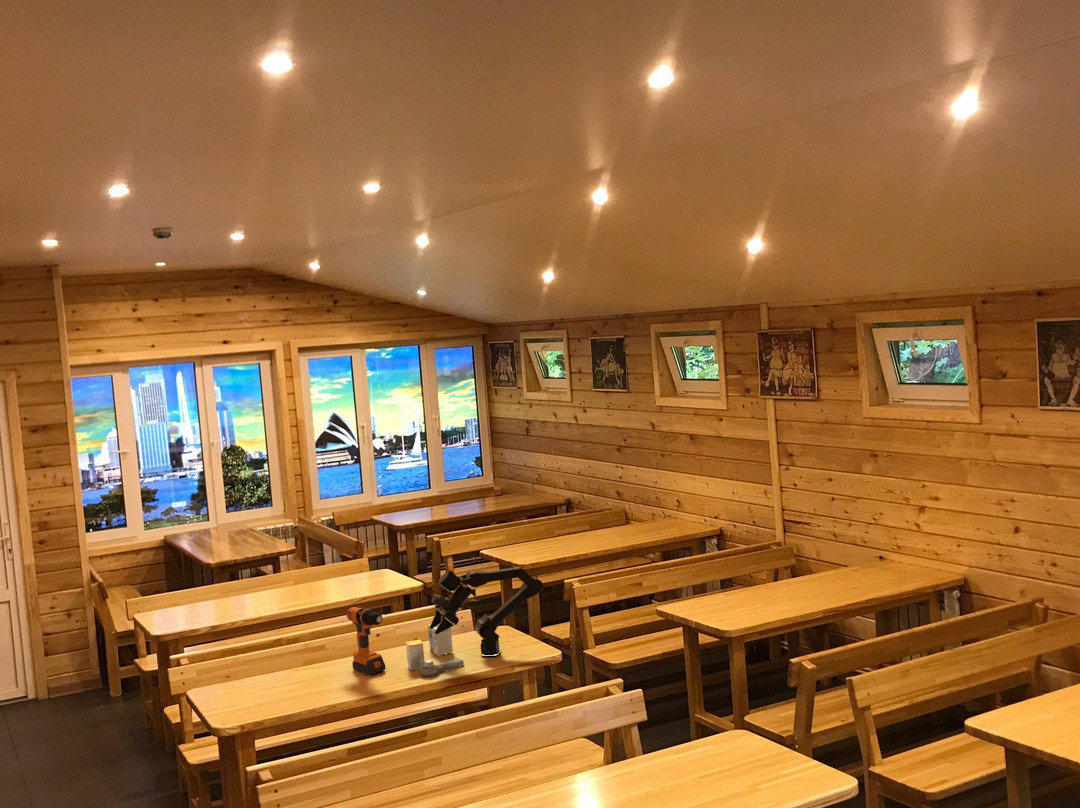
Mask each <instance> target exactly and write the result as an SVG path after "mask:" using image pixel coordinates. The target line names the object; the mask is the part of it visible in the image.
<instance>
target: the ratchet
mask: <svg viewBox="0 0 1080 808" xmlns="http://www.w3.org/2000/svg"><path fill="white" fill-rule="evenodd" d="M424 661H425V662H424V665H425V666H423V667H421V668H420V670H419V671H420V677H422V678H434V677H436V676H439V674H441V673H443V672H444V673H445V672H447V671H446V670H448V671H450V670H449V669H451V670H453V669H452V668H454V669H456V668H455V667H457V668H459V667H458V666H460V665H463V664H464V665H465V663H464V662H465V661H464V659H462V658H461V659H460V658H455V659H452V660H449V661H446V662H442V663H439V664H435V663H434V660H431V659H428V660H424ZM464 665H463V666H464ZM460 667H461V666H460Z"/></svg>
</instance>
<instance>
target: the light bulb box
mask: <svg viewBox="0 0 1080 808" xmlns="http://www.w3.org/2000/svg"><path fill="white" fill-rule="evenodd" d="M430 625H431V623H430V624H427V629H428V630H427V632H428V642H429V644H428V645H429V651H431V652H432V651H433V652H434V653H433V652H432V653H433V654H435V655H436V654H437V655H441V654H445V653H449V652H453V653H454V650H453V639H452V637H453V636H452V627H450V628H448V629H446V630H444V631H442V632H440V633H439V634H435V631H436V629H437V627H438V626H439V624H438V625H437V626H436V627H434V628H433V629H431V628H430ZM437 655H436V656H437ZM441 656H442V655H441Z"/></svg>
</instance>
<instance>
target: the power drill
mask: <svg viewBox="0 0 1080 808" xmlns="http://www.w3.org/2000/svg"><path fill="white" fill-rule="evenodd" d="M346 618H347V619H348V620H349V621H350V622H351V623H352V624H353V625H355V627H356V633H357V634H356V641H357V651H354V653H352V656H353V661H352V670H353V671H355V672H358V673H361V674H363V675H366V676H368V675H369V676H371V675H375V674H378V673H381V672H383V671H386V664H385V663H386V662H385V661H384V658H383V656H382V655H381V654H380V653H377V652H376V651H373V650H370V641H369V640H370V639H369V636H370V635H371V634H372V633H371V629H372V628H373V626H374V625H375V626H378V625H381V623H382V622H383V615H382V614H381V613H379V612H377V611H375V610H373V609H371V608H368V607H355V606H352V607H350V608H349V609H348V610H347V611H346Z"/></svg>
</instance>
